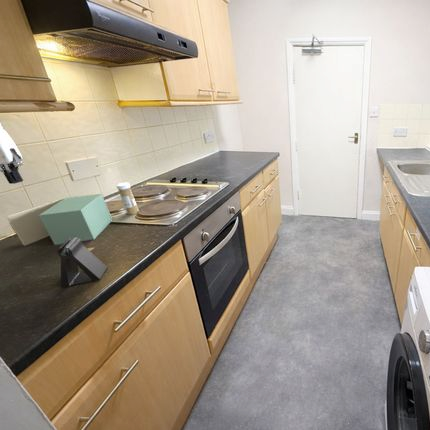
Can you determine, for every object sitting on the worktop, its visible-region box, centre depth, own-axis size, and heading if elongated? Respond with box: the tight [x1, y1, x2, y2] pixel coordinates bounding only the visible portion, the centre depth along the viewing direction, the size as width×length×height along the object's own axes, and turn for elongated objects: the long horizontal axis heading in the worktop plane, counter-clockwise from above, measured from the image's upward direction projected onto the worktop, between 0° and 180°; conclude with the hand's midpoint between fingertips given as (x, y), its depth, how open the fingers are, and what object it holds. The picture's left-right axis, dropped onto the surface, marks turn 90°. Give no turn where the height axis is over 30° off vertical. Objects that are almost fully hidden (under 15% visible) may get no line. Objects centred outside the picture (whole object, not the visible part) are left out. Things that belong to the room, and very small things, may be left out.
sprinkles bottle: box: [116, 182, 140, 215], centre depth 115 cm, size 5×5×13 cm
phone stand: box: [56, 237, 108, 289], centre depth 74 cm, size 9×6×12 cm, turn 109°
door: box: [6, 197, 66, 247], centre depth 99 cm, size 4×17×12 cm, turn 162°
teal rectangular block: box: [39, 193, 113, 246], centre depth 100 cm, size 12×17×12 cm
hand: (16, 182), depth 93 cm, fingers closed
